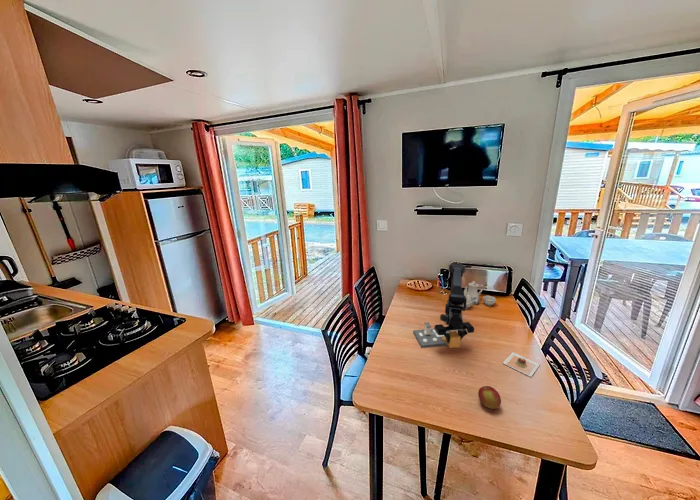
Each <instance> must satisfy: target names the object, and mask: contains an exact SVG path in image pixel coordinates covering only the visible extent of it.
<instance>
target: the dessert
mask: <svg viewBox="0 0 700 500" xmlns="http://www.w3.org/2000/svg"><path fill="white" fill-rule="evenodd" d="M514 356H515V357H516V358H517V360H516V362H515V365H516V366H517V367H519V368H522V369H526V368H527V362H528V363H530V364H533V365H534V367H533V369H532V370H531V371H530V373H529V374H527V373H526V372H524V371H521V370H519V369H517V368H515V367H513V366H511V365H509V364H508V363H509V362H510V361H511V360H512V359H513V358H514ZM502 364H504V365H506V366H508V367H510V368H512V369H514V370H515V371H518V372H520V373H522V374H524V375H527V376H528V377H531V378H532V377H533V375H534V373H535V372H536V371H537V370H538V368H539V367H540V365H541V364H540V363H538V362H535V361H533V360H531V359H529V358H526V357H525V356H522V355H520V354H518V353H516V352H513V351H512V352H511V353H510V355H509V356H508V357H507V358H506V359H505V360H504V361H503V362H502Z"/></svg>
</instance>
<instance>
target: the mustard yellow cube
mask: <svg viewBox="0 0 700 500" xmlns="http://www.w3.org/2000/svg"><path fill="white" fill-rule="evenodd" d="M449 334H450V340H449V344H448V343H447V341H446V343H447V344H448V348H450V349H453V348H460V347H461V340H460V336H459V335H458V331H457V330H455V331H451V332H449Z"/></svg>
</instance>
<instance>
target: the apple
mask: <svg viewBox="0 0 700 500" xmlns="http://www.w3.org/2000/svg"><path fill="white" fill-rule="evenodd" d="M477 394H478V395H477V396H478V399H479V401H480V403H481V404H482V405H483V406H484V407H486V408H488V409H494V410H495V409H498V408H500V406H501V404H502V399H501V396H500V393H499V392H498V391H497V390H496V388H494V387H492V386H490V385H486V386H481V387H480V388H479V389H478V393H477Z"/></svg>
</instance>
